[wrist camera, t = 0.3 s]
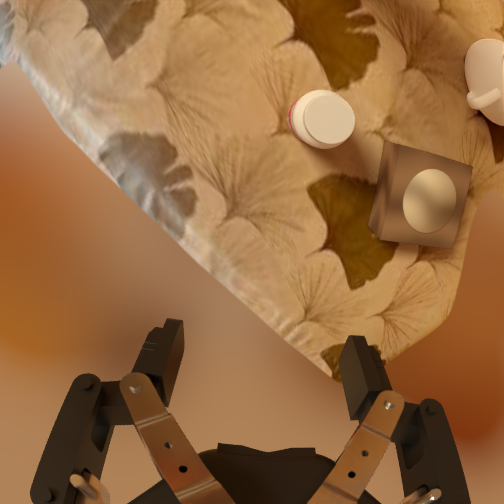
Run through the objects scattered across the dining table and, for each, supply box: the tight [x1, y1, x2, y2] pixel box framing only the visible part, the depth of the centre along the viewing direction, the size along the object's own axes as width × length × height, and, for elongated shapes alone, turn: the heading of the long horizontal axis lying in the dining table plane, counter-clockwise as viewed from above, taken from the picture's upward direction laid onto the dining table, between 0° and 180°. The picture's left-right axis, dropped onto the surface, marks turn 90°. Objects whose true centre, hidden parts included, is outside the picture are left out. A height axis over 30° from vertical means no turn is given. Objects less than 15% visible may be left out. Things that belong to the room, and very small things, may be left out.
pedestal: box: [368, 141, 473, 249], centre depth 35 cm, size 12×12×5 cm
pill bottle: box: [287, 90, 355, 149], centre depth 29 cm, size 6×6×11 cm
